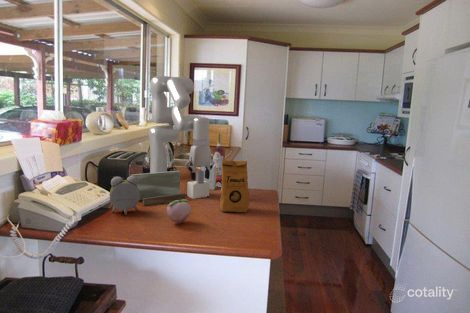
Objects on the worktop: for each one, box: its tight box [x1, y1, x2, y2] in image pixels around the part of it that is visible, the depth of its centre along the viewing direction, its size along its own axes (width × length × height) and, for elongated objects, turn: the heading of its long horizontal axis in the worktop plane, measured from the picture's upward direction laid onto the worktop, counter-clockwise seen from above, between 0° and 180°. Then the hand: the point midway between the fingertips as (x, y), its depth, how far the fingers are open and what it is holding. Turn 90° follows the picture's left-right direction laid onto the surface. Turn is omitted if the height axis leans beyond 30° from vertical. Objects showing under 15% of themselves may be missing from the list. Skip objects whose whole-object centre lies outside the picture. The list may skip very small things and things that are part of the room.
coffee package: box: [219, 159, 250, 213], centre depth 148 cm, size 10×12×22 cm
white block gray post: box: [186, 169, 210, 200], centre depth 170 cm, size 6×9×13 cm, turn 125°
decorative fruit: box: [166, 198, 192, 224], centre depth 130 cm, size 9×8×10 cm
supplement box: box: [200, 165, 217, 191], centre depth 187 cm, size 7×7×13 cm
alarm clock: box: [109, 175, 140, 216], centre depth 140 cm, size 12×7×15 cm, turn 111°
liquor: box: [212, 133, 226, 183], centre depth 204 cm, size 7×7×28 cm
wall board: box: [130, 170, 186, 207], centre depth 161 cm, size 11×24×12 cm, turn 125°
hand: (200, 179), depth 169 cm, fingers open, 7 cm apart
